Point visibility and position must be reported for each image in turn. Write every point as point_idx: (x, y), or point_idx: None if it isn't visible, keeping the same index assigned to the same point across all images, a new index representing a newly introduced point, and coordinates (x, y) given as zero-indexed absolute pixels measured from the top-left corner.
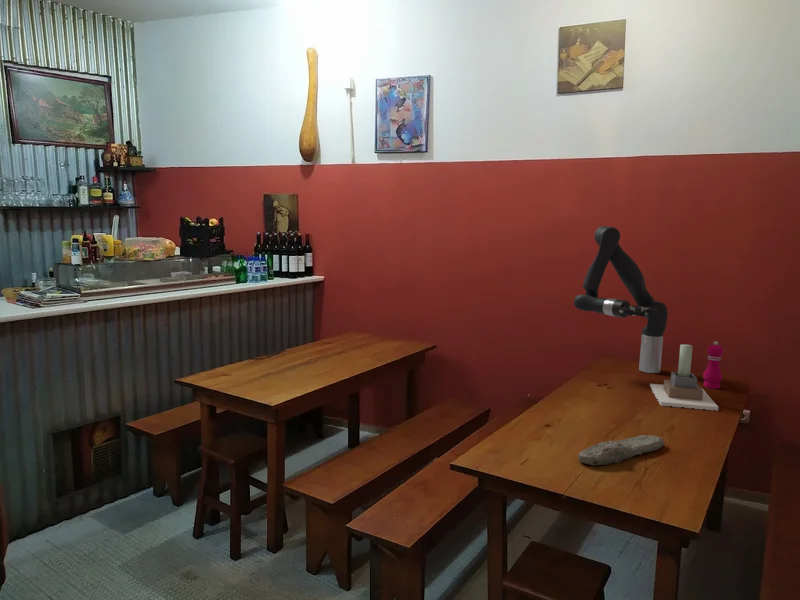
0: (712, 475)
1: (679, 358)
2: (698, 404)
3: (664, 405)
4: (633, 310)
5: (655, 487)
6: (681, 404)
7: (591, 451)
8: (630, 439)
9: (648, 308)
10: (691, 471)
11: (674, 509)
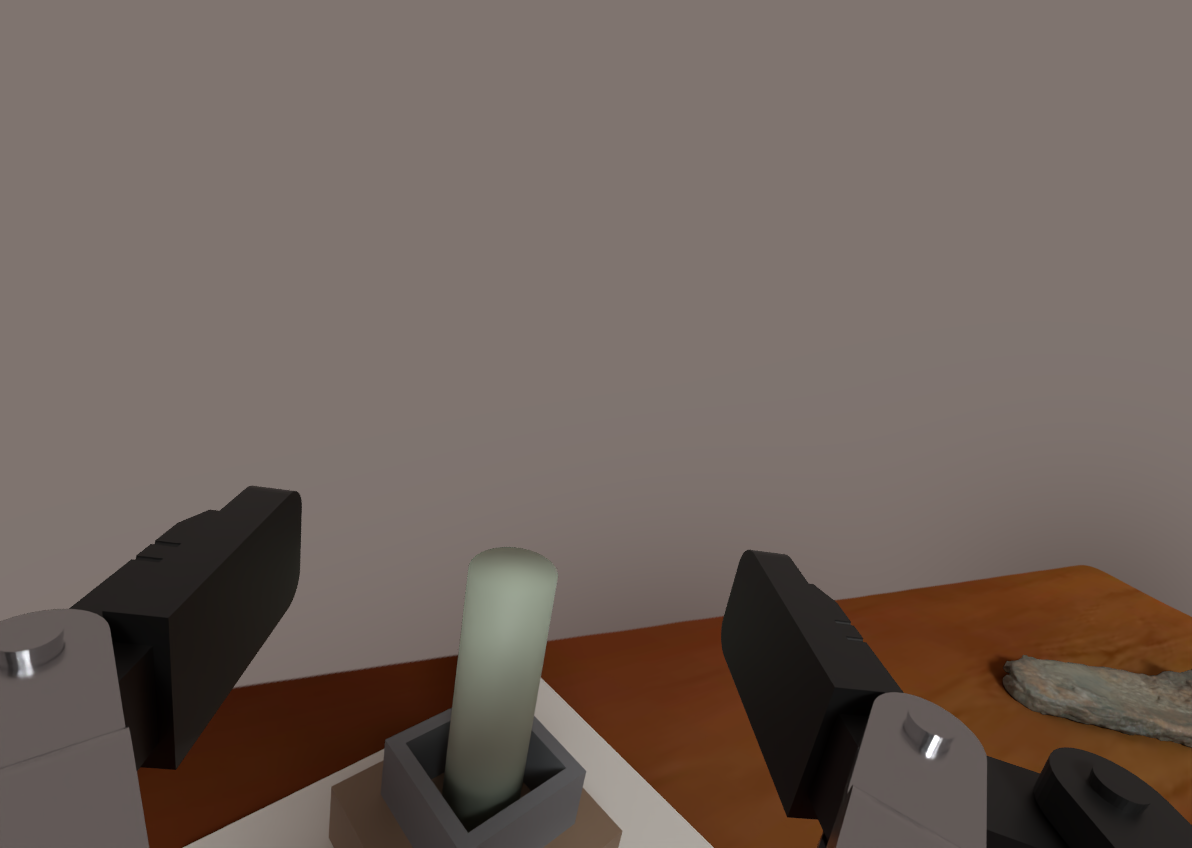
0: (956, 583)
1: (530, 682)
2: (580, 730)
3: None
4: (973, 758)
5: (1114, 620)
6: (645, 785)
7: None
8: (1133, 705)
9: (95, 618)
10: (995, 605)
11: (1101, 587)
